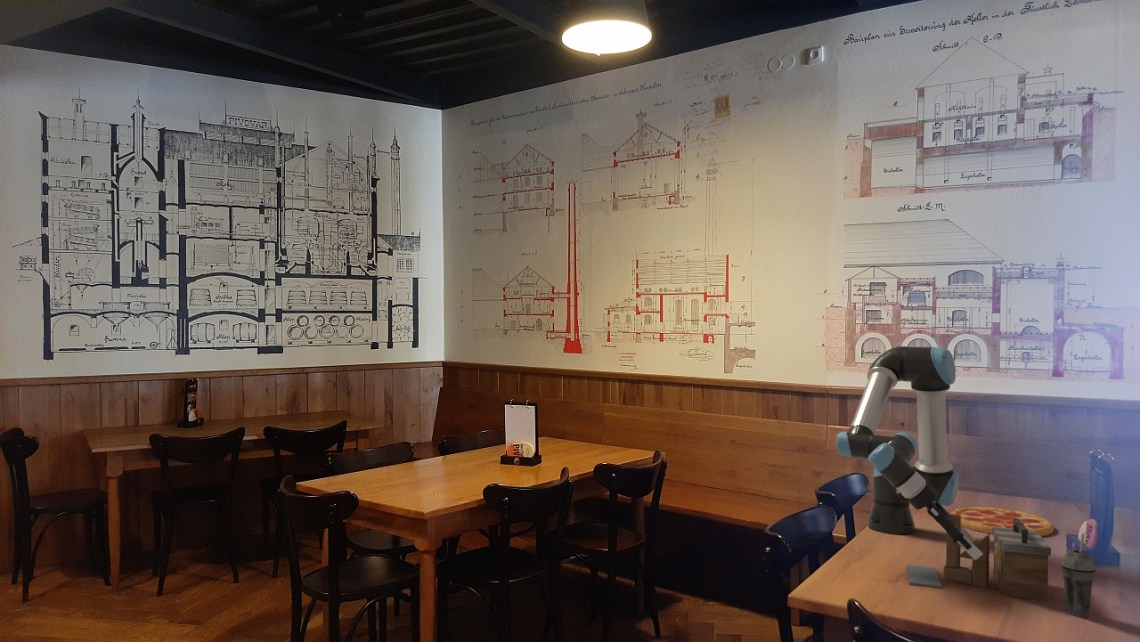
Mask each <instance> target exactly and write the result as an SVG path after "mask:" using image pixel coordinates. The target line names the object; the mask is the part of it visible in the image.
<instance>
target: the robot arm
mask: <svg viewBox="0 0 1140 642" xmlns="http://www.w3.org/2000/svg"><path fill="white" fill-rule="evenodd" d="M956 371H957V370H956V364H955V360H954V357H953V354H952V353H951V350H949V349H948V348H945V347H936V346H903V345H902V346H896V347H893V348H890V349H887V350H886V351H884V352H883V353H882V354H880V355H879V356H878V357H877V358H876V359H874V361H873V362H872V364H871V365H870V366H869V369H868V372H867V375H866V378H867V383H866V384H865V385H866V386H865V388H864V391H863V392H862V396H861V398H860V401H859V403H858V406H857V408H856V411H855V414H854V416H853V419H852V421H851V424H850V427H849V429H848V431H840V432H839V433H838V434H837V436H836V440H835V441H836V442H835V448H836V451H837V454H838V455H840V456H843V457H847V458H856V459H866V460H868V462H869V463H870V464H871V465H872V466H873V469H874V470H873V475H872V476H873V504H872V507H871V510H870V512H869V516H868V519H867V527H868V528H870V529H871V530H875V531H877V532H882V533H887V534H896V535H897V534H898V535H901V534H902V535H905V534H907V535H908V534H912V533H914V532H915V531H916V524H915V521H914V518H913V515H912V511H911V508H910V507H911V506H912V507H913V508H915V510H921V509H923V508H926V512H927V514H928V515H929V516H931V518H933V520H934V521H936V523H938V524H939V525H940V527H942V528H943V529H944V531H945V532H946V534H947V533H948V534H949V535H950V536H951V537H952V538H953V540H952V541H953V542H954V543H956V542H957V543H958V544H959V545H960V546H961V548H962V549H963V550H964V551H966V552H967V553H968V554H969V555H970V556H971V557H972V558H973V559H974V560H976V559H978V558H979V557H980V556H982V555H983V553H982V552H981V551H980V550H979V549H978V548H977V547H976V546H975V545H974V544H975V543H974V542H975V541H976V539H975V538H974V537H973V536H972V535H971V533H970V532H968V531H967V530H966V529H965V527H962V526H961V532H960V531H959V530H958V528H957V527H956V526H955V525H954V524H953V523H952V522H951V521H950V519H949V518H948V515H949V514H950V513H949V511H947V510H946V509H945V508H944V507H950V506H952V505H953V504H954V503H955V501H956V499H957V495H958V490H959V485H960V483H959V482H960V474H959V473H958V472H957V471H954V469H953V468H954V467H953V464H952V463H950V462H949V461H948V442H947V441H948V438H947V412H946V410H947V409H946V393H947V392H948V391H950V389H951V385H953V384H954V383H955V381H956ZM898 382H907V383H910V386H911V389H912V390H913V392H915V393H916V409H917V411H916V413H917V414H916V415H917V418H916V419H917V437H918V443H917V441H916V439H915V438H914V437H913V435H911V434H909V433H908V432H904V431H903V432H901V431H900V432H897V433H895V434H894V435H892V436H888V435H880V434H876V433H877V430H878V428H879V427H878V426H879V424H880V421H881V419H882V416H883V414H884V410H885V407H886V405H887V402H888V400H889V397H890V394H891V391H892V389H893V388H895V387H896V386H897V384H898ZM917 449H918V458H919V459H918V460H917V461H916V462H915V463H914V466H912V465H911V463H910V462H911V460H912V458H914V457H915V454H916V451H917ZM910 504H911V506H910ZM957 533H958V534H957ZM956 534H957V535H956ZM973 559H972V560H973Z"/></svg>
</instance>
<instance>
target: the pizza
mask: <svg viewBox="0 0 1140 642" xmlns="http://www.w3.org/2000/svg"><path fill="white" fill-rule="evenodd" d="M950 514H955V515H959V516H960V517H961V526H962V527H963V528H964V529H965V528H966V529H968V530H971V531H974V532H975V531H976V532H980V533H983V534H987V535H988V534H990V535H992V527H999V528H1010V529H1013V518H1018V519H1019V520H1020V521H1021V522H1022V523H1023V524H1024V526H1025V527H1026V528H1027V529H1028V530H1031V531H1037V532H1038V534H1039V535H1040V536H1041V537H1042V538H1043V537H1046V536H1049V535H1051V534H1053V532H1054V528H1055V526H1054V525H1053V523H1052V522H1050V521H1049V520H1048V519H1046V518H1043V517H1042V516H1038V515H1036V514H1032V513H1029V512H1025V511H1024V512H1023V511H1018V510H1013V509H1007V508H998V507H988V506H987V507H986V506H969V507H960V508H956V509H954V510H952V511H951V513H950Z"/></svg>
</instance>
